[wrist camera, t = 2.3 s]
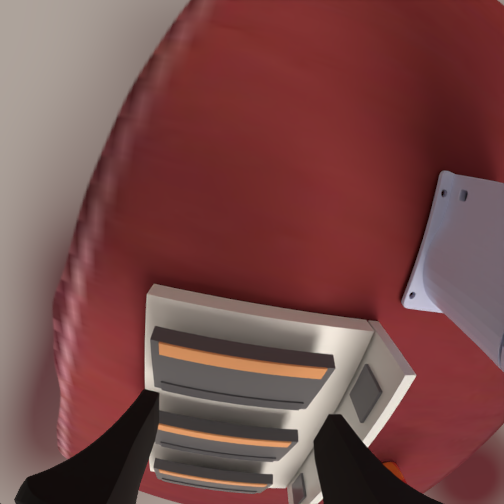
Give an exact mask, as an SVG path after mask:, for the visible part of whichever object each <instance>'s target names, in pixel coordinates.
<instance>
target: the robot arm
mask: <svg viewBox="0 0 504 504" xmlns="http://www.w3.org/2000/svg"><path fill="white" fill-rule="evenodd" d="M442 190H443V191H444V194H443V196H442V195H441V192H442ZM411 292H413V294H412V295H411V296H409V295H410V293H411ZM401 302H402V305H403V306H404V307H405V308H408V309H416V310H423V311H431V312H439V313H444V314H445V315H446V316H447V317H448V318H450V319H451V320H452V321H453V322H454V323H455V324H456V325H457V326H458V327H459V328H460V329H461V330H462V331H463V332H464V333H465V334H466V335H467V336H468V337H469V338H470V339H471V340H472V341H473V342H475V343H476V344H477V345H478V346H479V347H480V348H481V349H482V350H483V351H484V353H485V354H486V355H487V356H488V357H489V358H490V359H491V360H492V361H493V362H494V363H495V364H496V365H497V366H498V367H499V368H500V369H501V370H502V371H503V372H504V183H500V182H496V181H491V180H485V179H480V178H475V177H469V176H463V175H457V174H454V173H452V172H449V171H445V170H444V171H441V173H440V175H439V178H438V183H437V187H436V192H435V196H434V200H433V204H432V208H431V212H430V215H429V219H428V223H427V226H426V230H425V233H424V237H423V240H422V243H421V246H420V250H419V253H418V256H417V259H416V262H415V265H414V268H413V270H412V273H411V276H410V279H409V282H408V284H407V287H406V290H405V292H404V295H403V298H402V301H401ZM158 425H159V392H155V391H151V390H147V389H144V390H143V391H142V392H141V394H140V395H139V396H138V398H137V399H136V400H135V401H134V403H133V404H132V405H131V406H130V408H129V409H128V410H127V411H126V412H125V413H124V414H123V415H122V416H121V417H120V419H119V420H118V421H117V422H116V423H115V424H114V425H113V426H112V427H111V428H109V429H108V430H107V431H106V432H105V433H104V434H103V435H102V436H101V437H100V438H98V439H97V440H96V441H95V442H93V443H92V444H91V445H89V446H88V447H87V448H85V449H84V450H82V451H81V452H79V453H78V454H76V455H75V456H73V457H71V458H70V459H68V460H66V461H64V462H63V463H60V464H58V465H56V466H54V467H52V468H50V469H48V470H46V471H43V472H41V473H38V474H35V475H32V476H29V477H27V478H26V480H25V481H24V482H23V484H22V485H21V487H20V489H19V491H18V493H17V495H16V497H15V499H14V500H15V503H16V504H136V499H137V495H138V490H139V486H140V483H141V479H142V477H143V474H144V471H145V468H146V465H147V462H148V460H149V457H150V454H151V451H152V448H153V445H154V443H155V439H156V434H157V430H158ZM313 443H314V457H315V464H316V468H317V473H318V478H319V482H320V487H321V491H322V496H323V501H324V504H443V503H441V502H438V501H436V500H434V499H431V498H429V497H427V496H426V495H424V494H422V493H420V492H418V491H417V490H415V489H413V488H412V487H410V486H409V485H407V484H406V483H405V482H403V481H402V480H401V479H399V478H398V477H397V476H396V475H394V474H393V473H392V472H391V471H390V470H389V469H387V468H386V467H385V466H384V465H383V464H382V463H381V462H380V461H379V460H378V459H377V458H376V457H375V456H374V454H373V453H372V452H371V451H370V450H369V449H368V448H367V446H366V445H365V444H364V443H363V442H362V440H361V439H360V438H359V437H358V435H357V434H356V433H355V431H354V430H353V429H352V428H351V426H350V425H349V424H348V422H347V421H346V420H345V418H344V417H343V416H342V415H341V414H329V415H328V416H327V418H326V420H325V422H324V423H323V425H322V427H321V429H320V430H319V432H318V434H317V435H316V437H315V439H314V440H313ZM0 504H1V503H0Z"/></svg>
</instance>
